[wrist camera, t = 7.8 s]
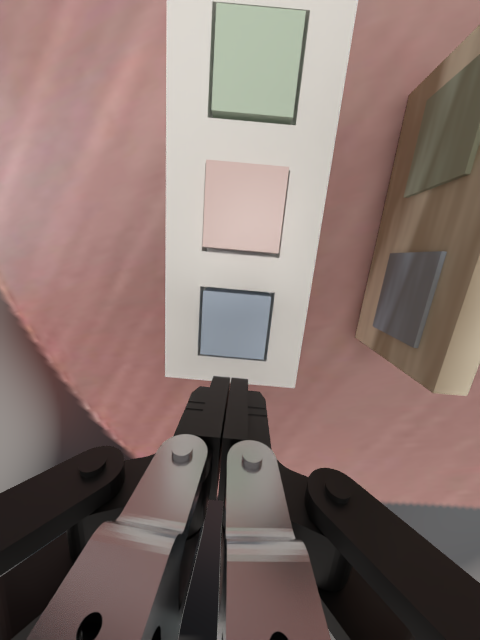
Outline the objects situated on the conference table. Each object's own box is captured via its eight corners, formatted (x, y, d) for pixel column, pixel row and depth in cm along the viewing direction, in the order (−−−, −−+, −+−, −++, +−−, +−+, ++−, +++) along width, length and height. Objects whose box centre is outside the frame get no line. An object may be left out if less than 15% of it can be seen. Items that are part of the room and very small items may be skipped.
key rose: (282, 180, 18) (289, 166, 16) (274, 254, 20) (278, 253, 17) (211, 173, 18) (206, 159, 16) (208, 248, 20) (202, 246, 17)
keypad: (343, 13, 17) (364, -38, 14) (288, 372, 24) (294, 388, 22) (180, -2, 17) (166, -56, 14) (174, 362, 24) (165, 376, 21)
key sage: (296, 48, 17) (306, 10, 15) (286, 137, 19) (293, 117, 16) (220, 41, 17) (216, 2, 15) (216, 131, 19) (211, 110, 16)
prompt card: (434, 97, 18) (649, -86, 9) (375, 339, 23) (467, 395, 14) (405, 94, 18) (587, -92, 9) (351, 336, 23) (427, 392, 14)
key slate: (268, 292, 22) (271, 296, 19) (261, 348, 23) (263, 359, 21) (208, 286, 22) (203, 290, 19) (205, 343, 23) (200, 354, 21)
